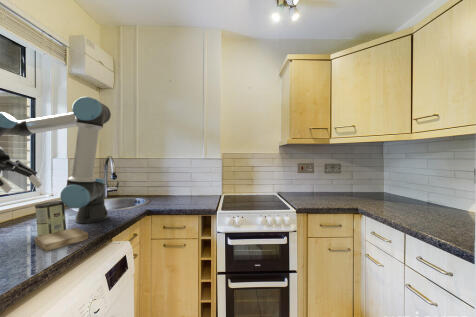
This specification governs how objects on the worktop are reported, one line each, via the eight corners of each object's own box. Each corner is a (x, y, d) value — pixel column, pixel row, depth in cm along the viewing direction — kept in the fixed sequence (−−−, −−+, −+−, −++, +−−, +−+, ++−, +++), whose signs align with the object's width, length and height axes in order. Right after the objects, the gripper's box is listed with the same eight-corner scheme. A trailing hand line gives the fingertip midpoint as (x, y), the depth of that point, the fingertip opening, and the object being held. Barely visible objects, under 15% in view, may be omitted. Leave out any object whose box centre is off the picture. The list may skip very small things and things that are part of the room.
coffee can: (50, 230, 104) (47, 201, 104) (71, 228, 105) (69, 200, 105) (30, 238, 94) (28, 206, 94) (54, 236, 94) (52, 204, 94)
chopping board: (75, 233, 99) (75, 227, 99) (88, 239, 92) (88, 233, 92) (35, 243, 88) (35, 237, 88) (45, 251, 81) (45, 244, 81)
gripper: (17, 159, 110) (45, 189, 110) (-50, 160, 85) (-14, 199, 85) (27, 149, 110) (55, 179, 110) (-37, 147, 85) (-1, 186, 85)
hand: (25, 188), depth 97 cm, fingers open, 13 cm apart
